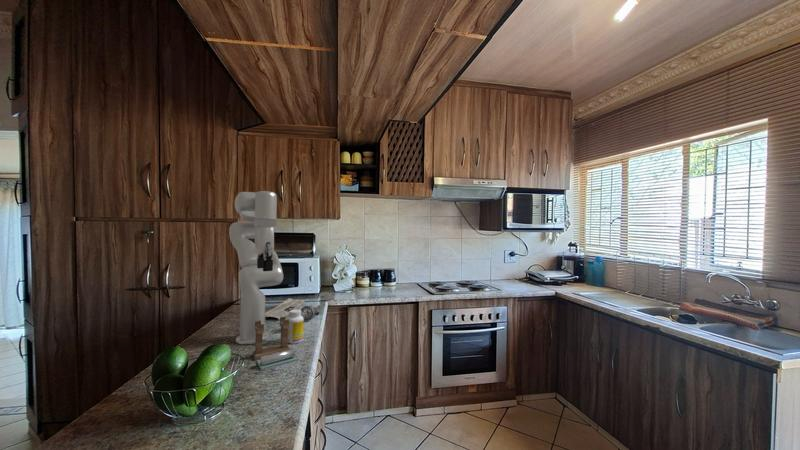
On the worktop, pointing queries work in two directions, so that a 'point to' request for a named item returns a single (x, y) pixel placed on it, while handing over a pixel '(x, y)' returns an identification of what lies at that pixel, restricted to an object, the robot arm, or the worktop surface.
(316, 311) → the spaceship
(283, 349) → the walnut rack
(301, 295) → the worktop surface
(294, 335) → the supplement bottle
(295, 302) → the newspaper
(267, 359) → the steel rail
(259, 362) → the rubber mat
